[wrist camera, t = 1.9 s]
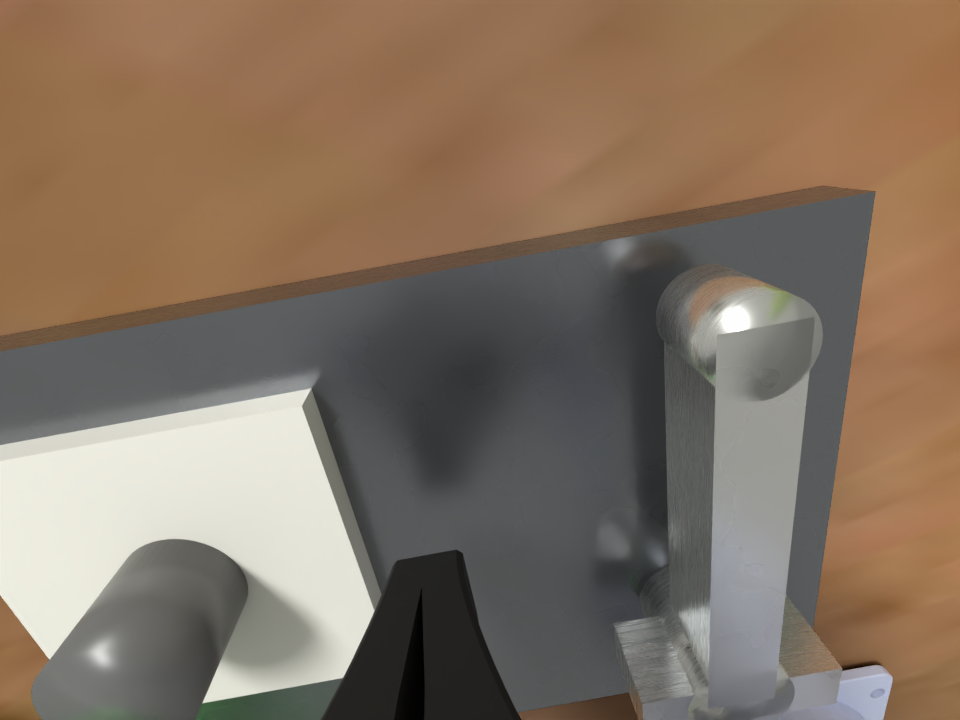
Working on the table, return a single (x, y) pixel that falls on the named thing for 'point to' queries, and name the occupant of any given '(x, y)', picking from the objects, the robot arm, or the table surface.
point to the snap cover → (183, 559)
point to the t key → (729, 510)
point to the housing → (486, 411)
